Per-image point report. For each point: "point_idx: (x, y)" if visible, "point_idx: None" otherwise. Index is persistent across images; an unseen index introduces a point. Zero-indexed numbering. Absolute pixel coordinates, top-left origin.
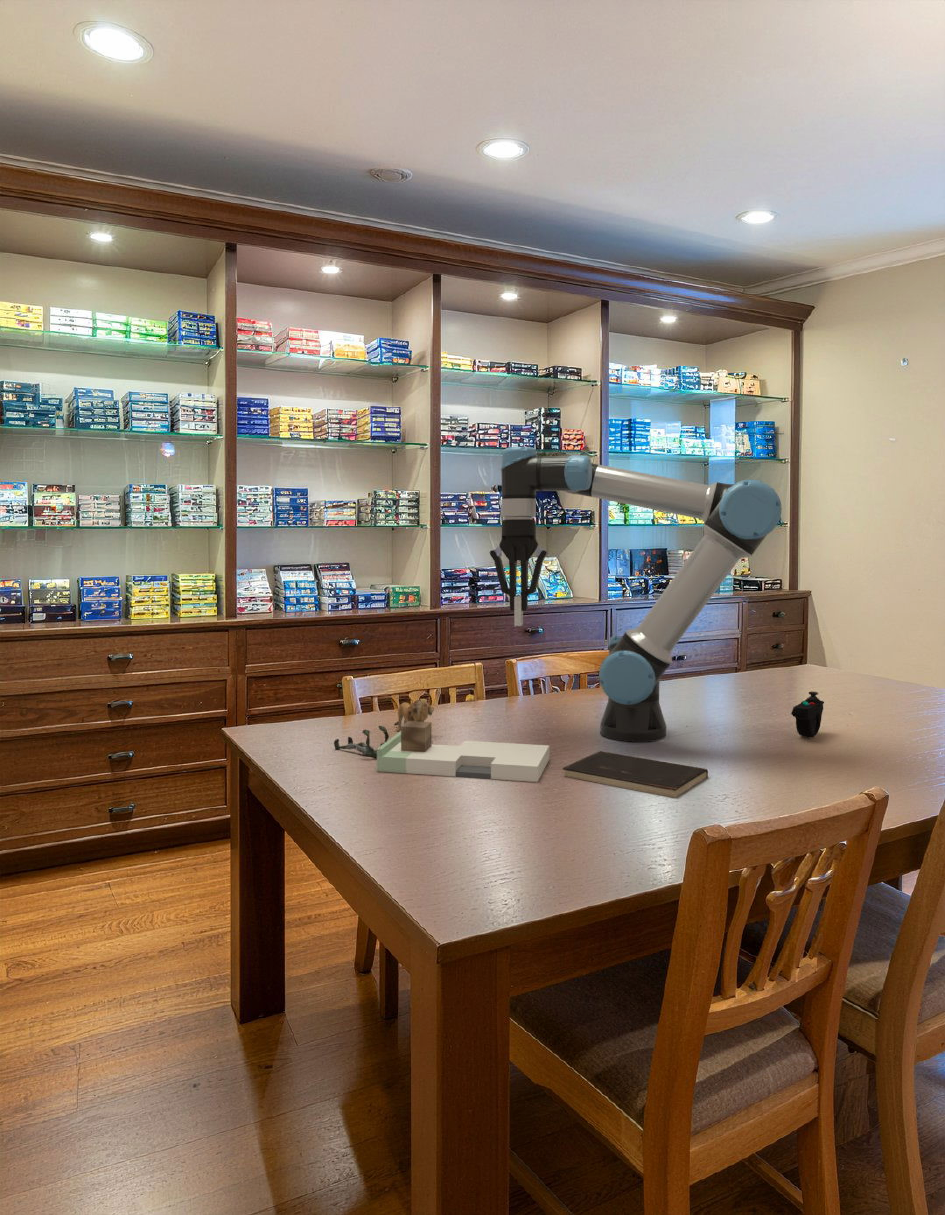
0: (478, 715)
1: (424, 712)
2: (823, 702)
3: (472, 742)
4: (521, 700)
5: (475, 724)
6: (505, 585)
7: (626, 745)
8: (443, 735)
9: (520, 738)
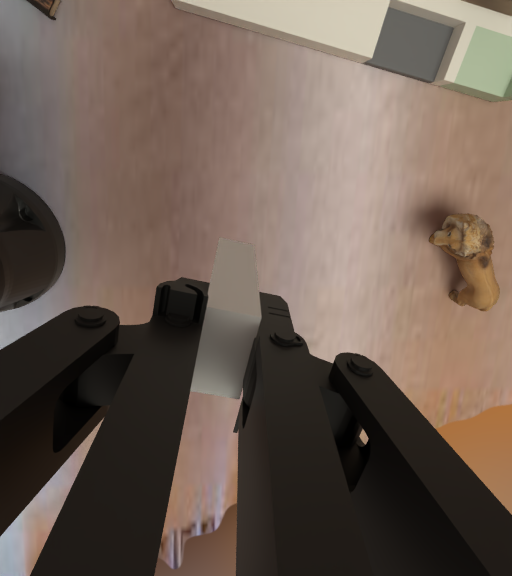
0: None
1: (459, 215)
2: None
3: (355, 37)
4: (218, 487)
5: (316, 321)
6: (359, 396)
7: (4, 145)
8: (388, 235)
9: (232, 209)
